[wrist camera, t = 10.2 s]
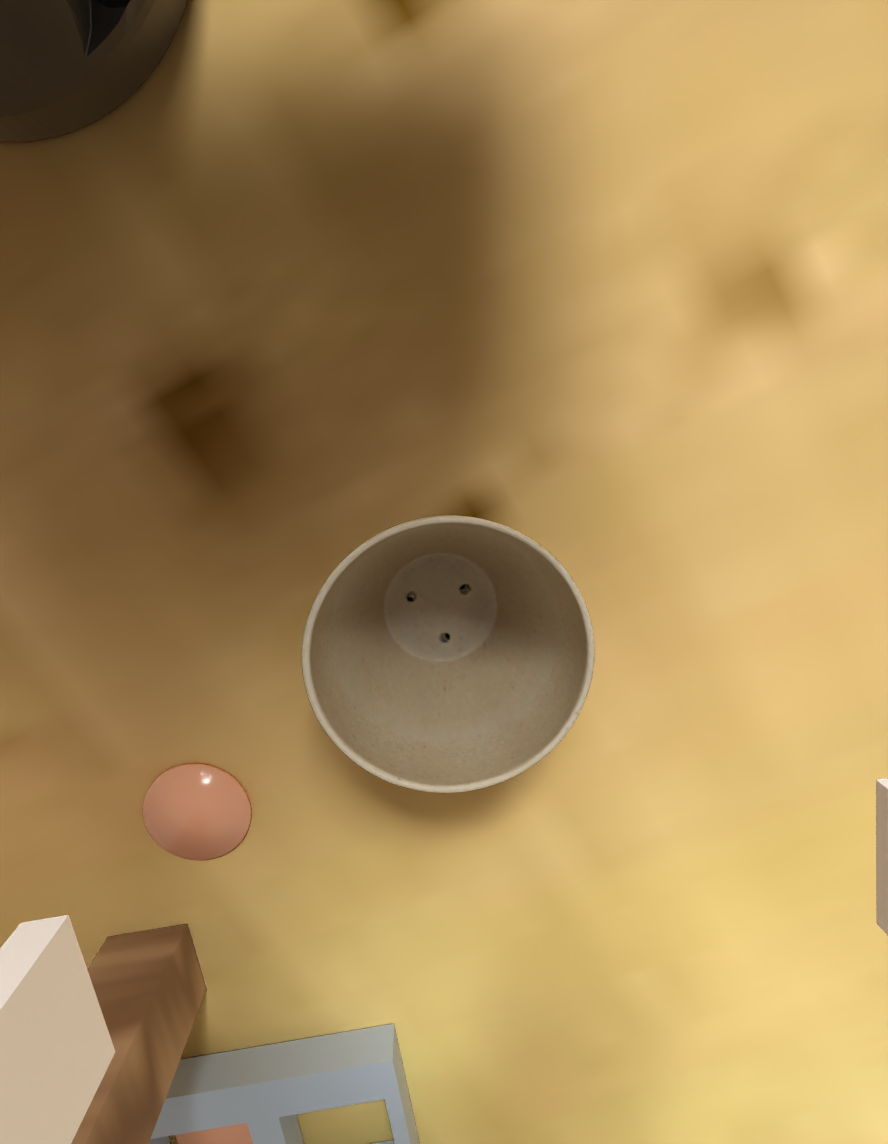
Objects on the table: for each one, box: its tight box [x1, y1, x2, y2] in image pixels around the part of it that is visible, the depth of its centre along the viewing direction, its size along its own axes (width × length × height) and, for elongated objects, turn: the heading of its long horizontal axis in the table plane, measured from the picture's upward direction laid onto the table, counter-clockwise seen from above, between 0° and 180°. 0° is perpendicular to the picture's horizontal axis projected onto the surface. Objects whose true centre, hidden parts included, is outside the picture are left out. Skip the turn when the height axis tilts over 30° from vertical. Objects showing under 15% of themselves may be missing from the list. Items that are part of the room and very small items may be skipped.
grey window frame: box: [149, 1024, 420, 1144], centre depth 33 cm, size 10×14×2 cm
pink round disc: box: [143, 763, 251, 860], centre depth 30 cm, size 5×5×1 cm
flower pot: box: [302, 515, 595, 793], centre depth 25 cm, size 10×10×7 cm
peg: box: [71, 924, 207, 1144], centre depth 26 cm, size 4×4×12 cm
